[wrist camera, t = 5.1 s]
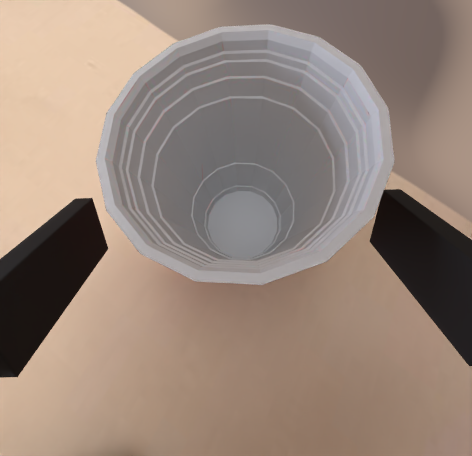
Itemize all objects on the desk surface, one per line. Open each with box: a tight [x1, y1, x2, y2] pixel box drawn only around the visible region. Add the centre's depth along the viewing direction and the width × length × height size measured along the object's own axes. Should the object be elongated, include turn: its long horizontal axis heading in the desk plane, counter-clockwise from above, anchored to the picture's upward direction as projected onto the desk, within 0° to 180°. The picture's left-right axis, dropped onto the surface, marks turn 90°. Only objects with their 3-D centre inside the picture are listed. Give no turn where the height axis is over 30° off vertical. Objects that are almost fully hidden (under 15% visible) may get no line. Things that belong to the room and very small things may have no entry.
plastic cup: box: [96, 24, 394, 285], centre depth 15 cm, size 11×11×12 cm
